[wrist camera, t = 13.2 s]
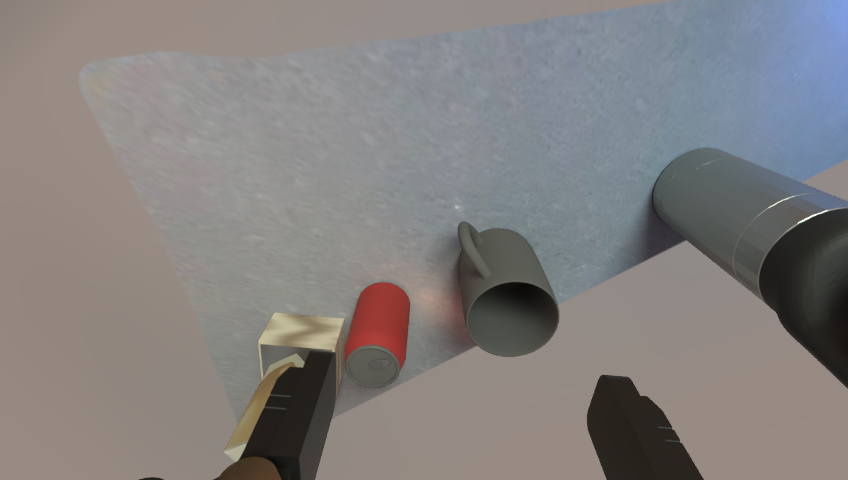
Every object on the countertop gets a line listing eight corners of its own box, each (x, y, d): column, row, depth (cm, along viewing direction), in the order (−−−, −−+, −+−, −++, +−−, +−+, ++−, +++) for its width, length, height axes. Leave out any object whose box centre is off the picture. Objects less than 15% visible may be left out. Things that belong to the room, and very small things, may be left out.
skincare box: (327, 386, 53) (298, 478, 42) (298, 398, 54) (264, 492, 43) (295, 349, 50) (256, 438, 39) (266, 363, 51) (220, 453, 40)
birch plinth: (344, 318, 56) (334, 349, 50) (343, 371, 60) (334, 405, 54) (274, 312, 55) (257, 342, 50) (278, 366, 59) (263, 399, 54)
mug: (547, 271, 52) (577, 333, 41) (481, 304, 54) (493, 371, 44) (492, 180, 47) (510, 223, 36) (423, 221, 50) (420, 273, 39)
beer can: (418, 314, 55) (414, 382, 44) (372, 329, 56) (357, 399, 46) (398, 272, 53) (388, 334, 42) (349, 289, 54) (329, 353, 43)
